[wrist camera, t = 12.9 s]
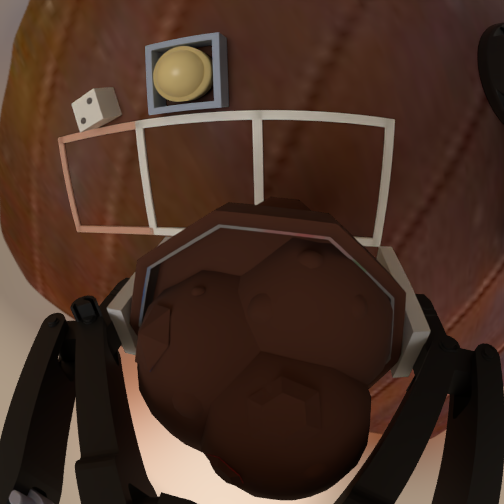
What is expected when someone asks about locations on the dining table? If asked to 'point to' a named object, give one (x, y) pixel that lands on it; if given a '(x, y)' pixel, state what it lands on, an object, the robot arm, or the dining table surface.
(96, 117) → the die
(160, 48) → the base
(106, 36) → the dining table surface
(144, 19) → the dining table surface
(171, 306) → the ice cream bowl
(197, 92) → the dome
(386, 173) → the track
